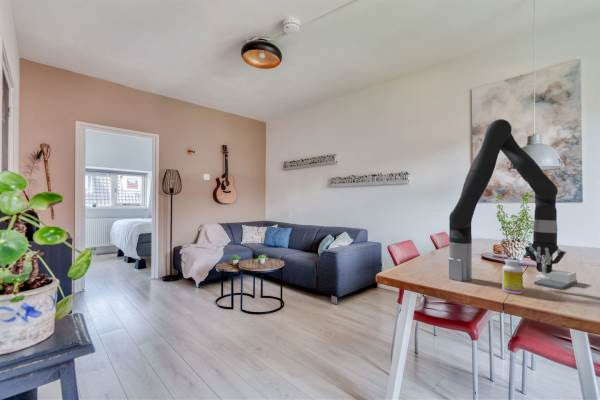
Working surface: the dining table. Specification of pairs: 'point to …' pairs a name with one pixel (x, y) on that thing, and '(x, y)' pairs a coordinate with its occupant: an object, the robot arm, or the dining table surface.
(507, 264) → the supplement bottle
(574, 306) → the dining table surface
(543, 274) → the chess piece
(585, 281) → the dining table surface
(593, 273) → the dining table surface
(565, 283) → the end cap plate
